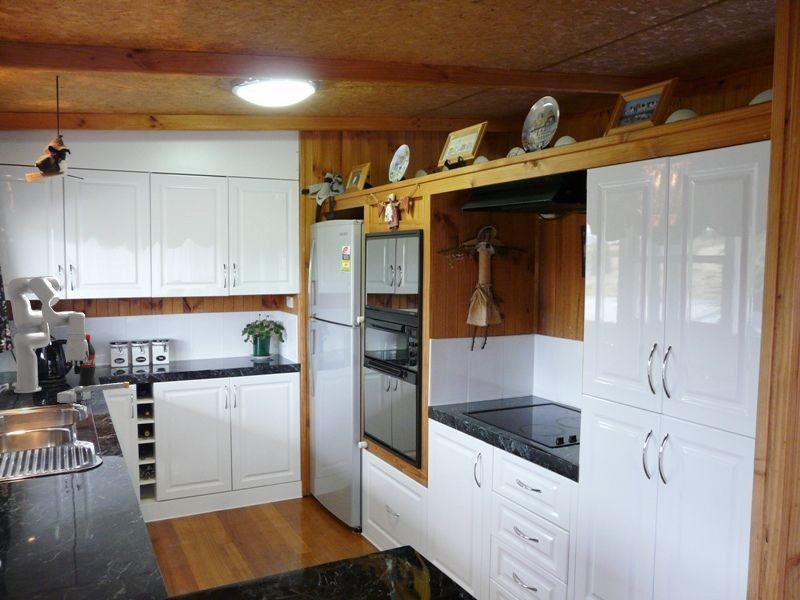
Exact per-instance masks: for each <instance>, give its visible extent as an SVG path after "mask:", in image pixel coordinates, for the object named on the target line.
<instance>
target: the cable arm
mask: <svg viewBox="0 0 800 600" xmlns="http://www.w3.org/2000/svg"><path fill="white" fill-rule="evenodd" d="M74 388H75V393H83V392H89V391H91V392H99V391H108V390H115V389H116V390H117V389H129V388H130V381H123V382H116V383H105V384H104V383H103V384H96V385H93V386H79V385H77V386H74Z"/></svg>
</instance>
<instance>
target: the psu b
mask: <svg viewBox="0 0 800 600" xmlns="http://www.w3.org/2000/svg"><path fill="white" fill-rule="evenodd" d="M68 391H75V387H74V388H70V389H68ZM91 392H92V391H89V392H83V393H82V400H84V401H86V399H87V400H90V399H91V398H92V393H91Z"/></svg>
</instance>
